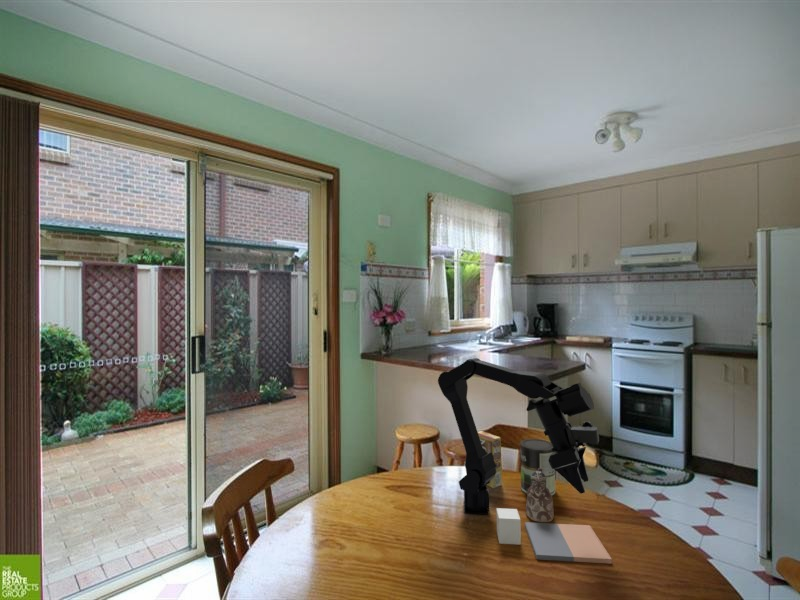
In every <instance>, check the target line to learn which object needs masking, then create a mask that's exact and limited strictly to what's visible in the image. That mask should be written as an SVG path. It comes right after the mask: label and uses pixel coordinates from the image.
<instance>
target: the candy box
mask: <svg viewBox="0 0 800 600" xmlns="http://www.w3.org/2000/svg"><path fill="white" fill-rule="evenodd" d="M477 432H478V435H479V438H480V441H481V444H482V447H483V449H484V450H485V451H486V452H487V453H490V452H492V454H493V458H494V462H495V464H496V465H497V467H496V474H495V476H494V478H493V479H491V480H490V483H489V484H487V485H486V486H488V487H490V488H492V489H495V488H498V487H500V486H502V485H503V481H502V480H503V479H502V478H503V477H502V476H503V474H502V473H503V472H502V443H501V442H502V441H501V437H500V436H497V435H494V434H492V433H490V432H486V431H483V430H479V431H477Z"/></svg>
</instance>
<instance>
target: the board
mask: <svg viewBox="0 0 800 600" xmlns="http://www.w3.org/2000/svg"><path fill="white" fill-rule="evenodd" d="M524 527H525V531H526V533H527V535H528V539H529V541H530V545H531V547H532V549H533V550H532V551H533V553H534V555H535V558H536V560H544V561H545V560H546V561H558V562H560V561H561V562H577V563H578V562H579V563H595V564H609V565H612V564H613V560H612V557H611V555H610V554H609V553H608V551H607V549H606V548H605V546H604V545H603V544H602V541H601V540H600V539H599V537H598V536H597V534H596V533H595V531H594V529H593V528H592V526H591V525H589V524H571V523H570V524H568V523H551V522H528V521H527V522H526V521H524Z"/></svg>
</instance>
